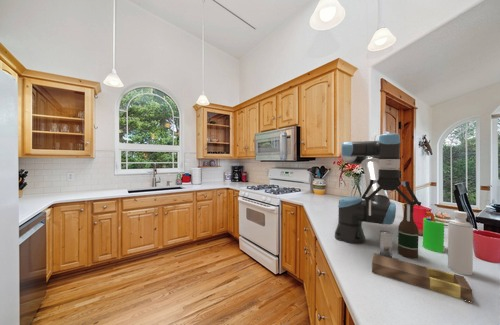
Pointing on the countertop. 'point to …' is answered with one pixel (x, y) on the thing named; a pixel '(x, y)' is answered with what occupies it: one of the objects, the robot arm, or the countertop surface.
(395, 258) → the mat
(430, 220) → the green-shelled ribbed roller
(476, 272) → the countertop surface
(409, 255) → the beer bottle
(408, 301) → the countertop surface
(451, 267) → the white bottle
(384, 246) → the peg
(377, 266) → the rail
